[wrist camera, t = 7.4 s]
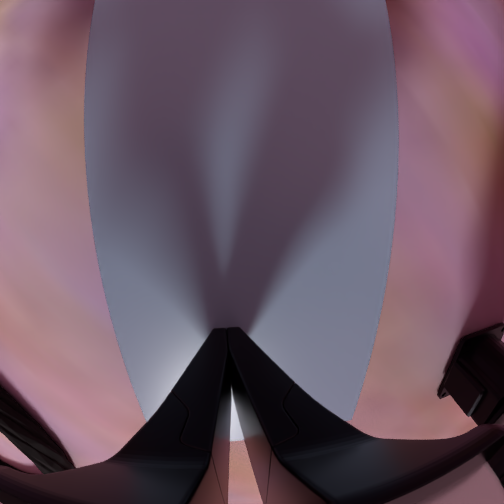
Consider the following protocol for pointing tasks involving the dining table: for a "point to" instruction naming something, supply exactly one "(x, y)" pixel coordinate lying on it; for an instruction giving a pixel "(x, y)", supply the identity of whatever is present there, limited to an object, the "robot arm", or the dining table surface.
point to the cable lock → (30, 437)
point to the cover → (243, 183)
